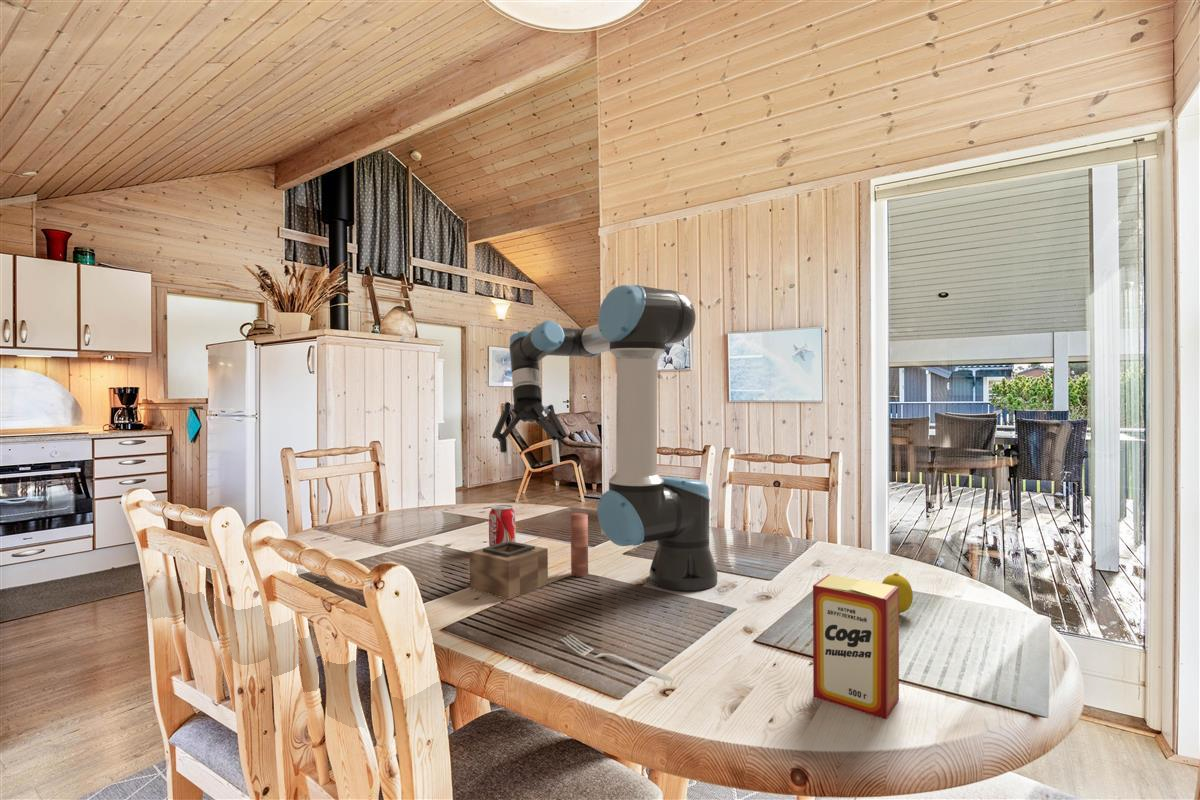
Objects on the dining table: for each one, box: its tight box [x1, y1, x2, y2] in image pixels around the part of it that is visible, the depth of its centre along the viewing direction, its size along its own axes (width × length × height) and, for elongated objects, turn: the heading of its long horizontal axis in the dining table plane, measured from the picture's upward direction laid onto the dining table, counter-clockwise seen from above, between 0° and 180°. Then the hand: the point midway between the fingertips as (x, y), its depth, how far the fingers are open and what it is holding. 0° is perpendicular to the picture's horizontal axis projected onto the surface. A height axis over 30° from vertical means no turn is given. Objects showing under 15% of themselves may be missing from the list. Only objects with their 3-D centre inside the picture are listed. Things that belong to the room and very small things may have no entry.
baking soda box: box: [812, 573, 900, 720], centre depth 84 cm, size 10×6×16 cm
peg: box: [570, 512, 589, 578], centre depth 142 cm, size 4×4×14 cm
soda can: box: [488, 504, 516, 547], centre depth 163 cm, size 7×7×12 cm
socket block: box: [469, 541, 549, 600], centre depth 133 cm, size 12×12×9 cm
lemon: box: [881, 572, 914, 615], centre depth 115 cm, size 6×6×8 cm
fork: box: [559, 634, 675, 682], centre depth 95 cm, size 3×24×2 cm, turn 53°
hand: (532, 465), depth 157 cm, fingers open, 13 cm apart
